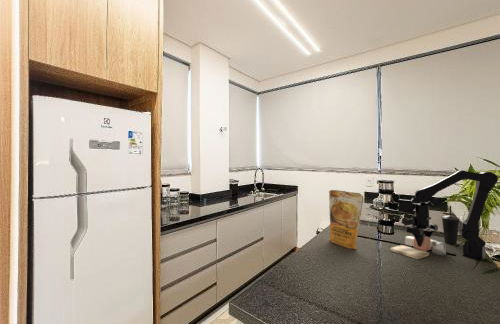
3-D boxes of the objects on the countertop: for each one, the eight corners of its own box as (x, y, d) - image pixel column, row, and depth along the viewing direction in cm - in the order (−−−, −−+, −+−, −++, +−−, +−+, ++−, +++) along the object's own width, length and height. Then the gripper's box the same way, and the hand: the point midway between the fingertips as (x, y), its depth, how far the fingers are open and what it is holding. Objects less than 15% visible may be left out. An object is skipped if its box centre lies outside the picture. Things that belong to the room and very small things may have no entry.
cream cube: (417, 245, 121) (417, 238, 121) (413, 247, 119) (413, 239, 119) (409, 243, 125) (409, 235, 125) (405, 244, 123) (405, 237, 123)
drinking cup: (464, 245, 121) (463, 207, 122) (449, 245, 122) (449, 207, 122) (451, 240, 129) (451, 204, 129) (437, 240, 129) (437, 204, 129)
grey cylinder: (447, 254, 110) (447, 243, 110) (442, 256, 107) (442, 245, 107) (435, 250, 114) (435, 240, 114) (430, 252, 112) (430, 242, 112)
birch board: (429, 255, 108) (429, 252, 108) (417, 259, 103) (417, 256, 103) (401, 247, 119) (401, 244, 119) (390, 250, 114) (390, 248, 114)
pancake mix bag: (332, 238, 132) (332, 189, 133) (364, 249, 116) (364, 192, 116) (324, 240, 129) (324, 189, 129) (355, 251, 112) (355, 193, 113)
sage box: (439, 247, 119) (439, 241, 119) (435, 248, 118) (435, 242, 118) (426, 243, 124) (426, 238, 124) (423, 244, 123) (423, 238, 123)
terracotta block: (430, 249, 116) (430, 237, 116) (425, 251, 113) (425, 238, 113) (419, 246, 120) (419, 234, 120) (414, 247, 118) (414, 236, 118)
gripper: (414, 209, 129) (414, 238, 128) (394, 213, 120) (395, 243, 119) (438, 213, 119) (438, 244, 119) (419, 217, 110) (419, 250, 110)
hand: (422, 245), depth 117 cm, fingers closed on terracotta block, 5 cm apart
